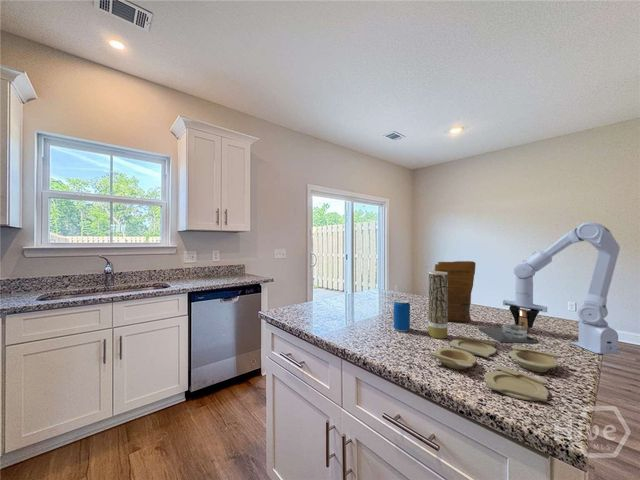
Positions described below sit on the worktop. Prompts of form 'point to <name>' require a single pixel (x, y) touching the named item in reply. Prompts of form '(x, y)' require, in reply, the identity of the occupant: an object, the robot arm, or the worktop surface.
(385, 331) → the worktop surface
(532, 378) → the tableware set
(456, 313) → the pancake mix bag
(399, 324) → the beverage can
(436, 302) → the grey patterned cylinder
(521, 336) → the collar stand
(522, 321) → the brown banded cylinder
